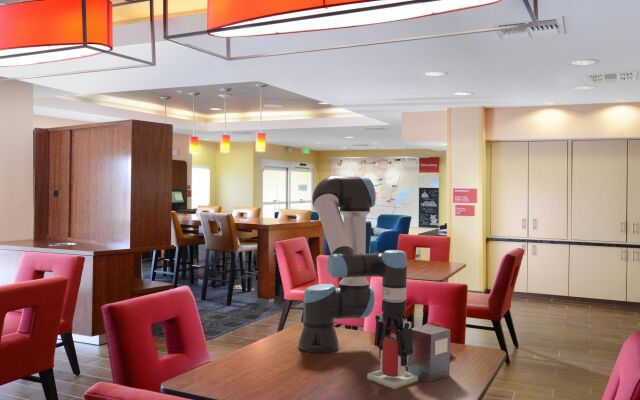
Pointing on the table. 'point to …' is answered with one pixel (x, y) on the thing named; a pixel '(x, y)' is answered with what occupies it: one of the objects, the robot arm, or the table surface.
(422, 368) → the box
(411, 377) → the tray
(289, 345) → the table surface
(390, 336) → the beer can
